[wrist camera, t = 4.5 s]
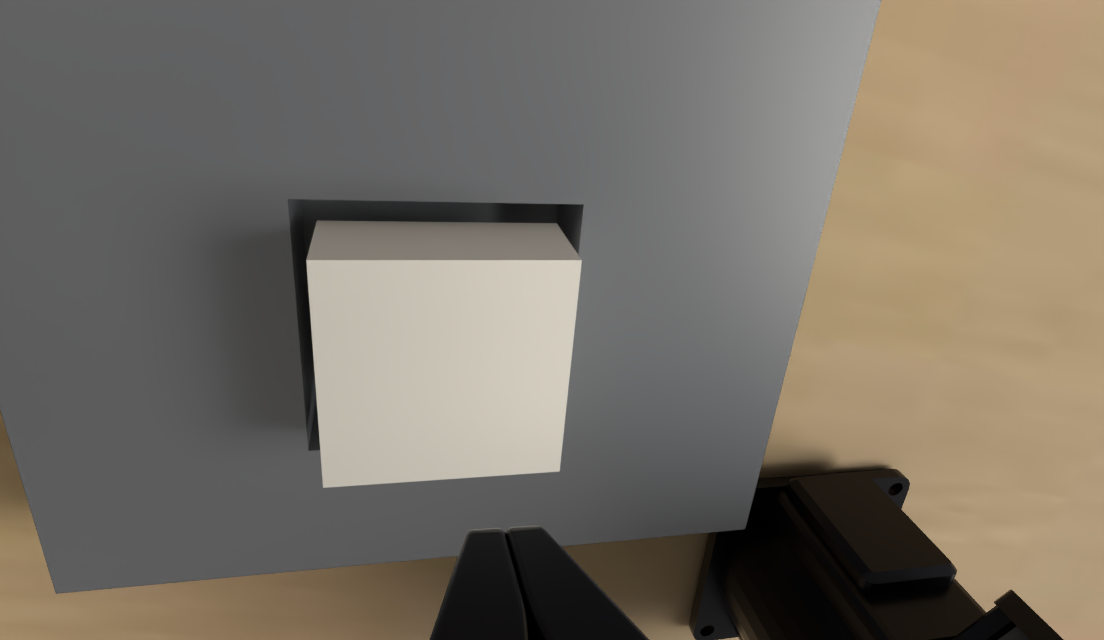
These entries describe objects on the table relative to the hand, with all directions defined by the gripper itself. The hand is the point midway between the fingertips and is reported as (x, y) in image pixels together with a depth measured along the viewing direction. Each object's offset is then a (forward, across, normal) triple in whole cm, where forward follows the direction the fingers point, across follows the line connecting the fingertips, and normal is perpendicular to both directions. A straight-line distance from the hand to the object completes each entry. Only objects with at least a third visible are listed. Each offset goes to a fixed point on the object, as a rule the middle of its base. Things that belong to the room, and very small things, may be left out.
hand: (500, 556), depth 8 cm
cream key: (+7, 0, +1) cm, 7 cm away
